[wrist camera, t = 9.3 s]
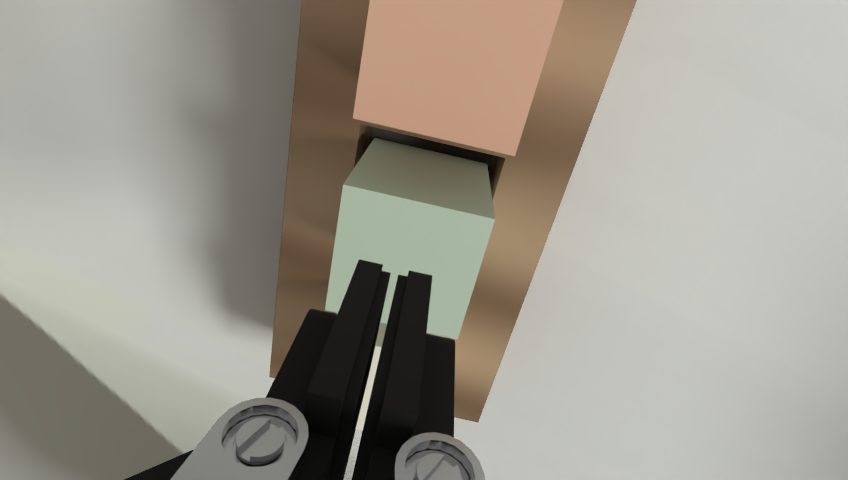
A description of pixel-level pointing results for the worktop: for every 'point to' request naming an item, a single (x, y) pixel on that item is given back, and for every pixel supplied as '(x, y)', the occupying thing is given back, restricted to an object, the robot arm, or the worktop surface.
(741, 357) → the worktop surface
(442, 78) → the key terracotta
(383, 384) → the robot arm
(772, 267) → the worktop surface
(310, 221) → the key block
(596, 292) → the worktop surface
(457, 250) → the key sage
